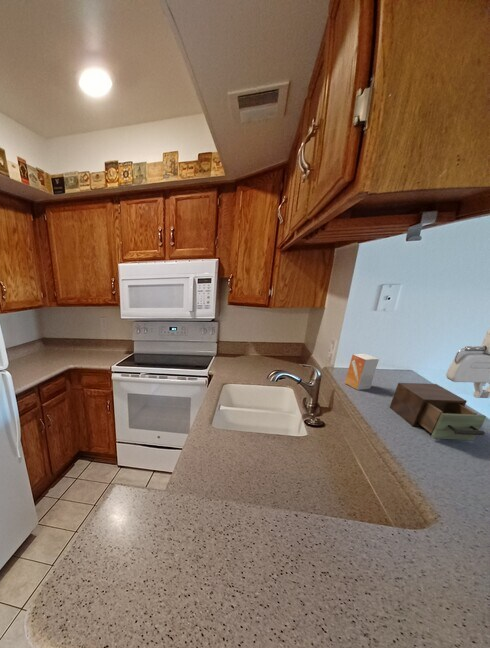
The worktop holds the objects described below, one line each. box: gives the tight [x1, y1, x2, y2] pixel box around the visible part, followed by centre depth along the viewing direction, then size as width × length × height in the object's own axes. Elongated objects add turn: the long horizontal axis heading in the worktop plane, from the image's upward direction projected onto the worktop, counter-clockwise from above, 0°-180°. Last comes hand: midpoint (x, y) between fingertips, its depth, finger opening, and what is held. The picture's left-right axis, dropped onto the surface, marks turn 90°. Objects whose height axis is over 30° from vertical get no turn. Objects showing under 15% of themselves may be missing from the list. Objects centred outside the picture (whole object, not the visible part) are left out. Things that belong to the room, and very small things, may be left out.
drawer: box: [417, 402, 487, 441], centre depth 100 cm, size 19×11×8 cm, turn 174°
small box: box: [344, 353, 380, 391], centre depth 137 cm, size 8×6×13 cm
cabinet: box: [389, 382, 468, 428], centre depth 111 cm, size 16×13×10 cm
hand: (480, 397), depth 90 cm, fingers closed
